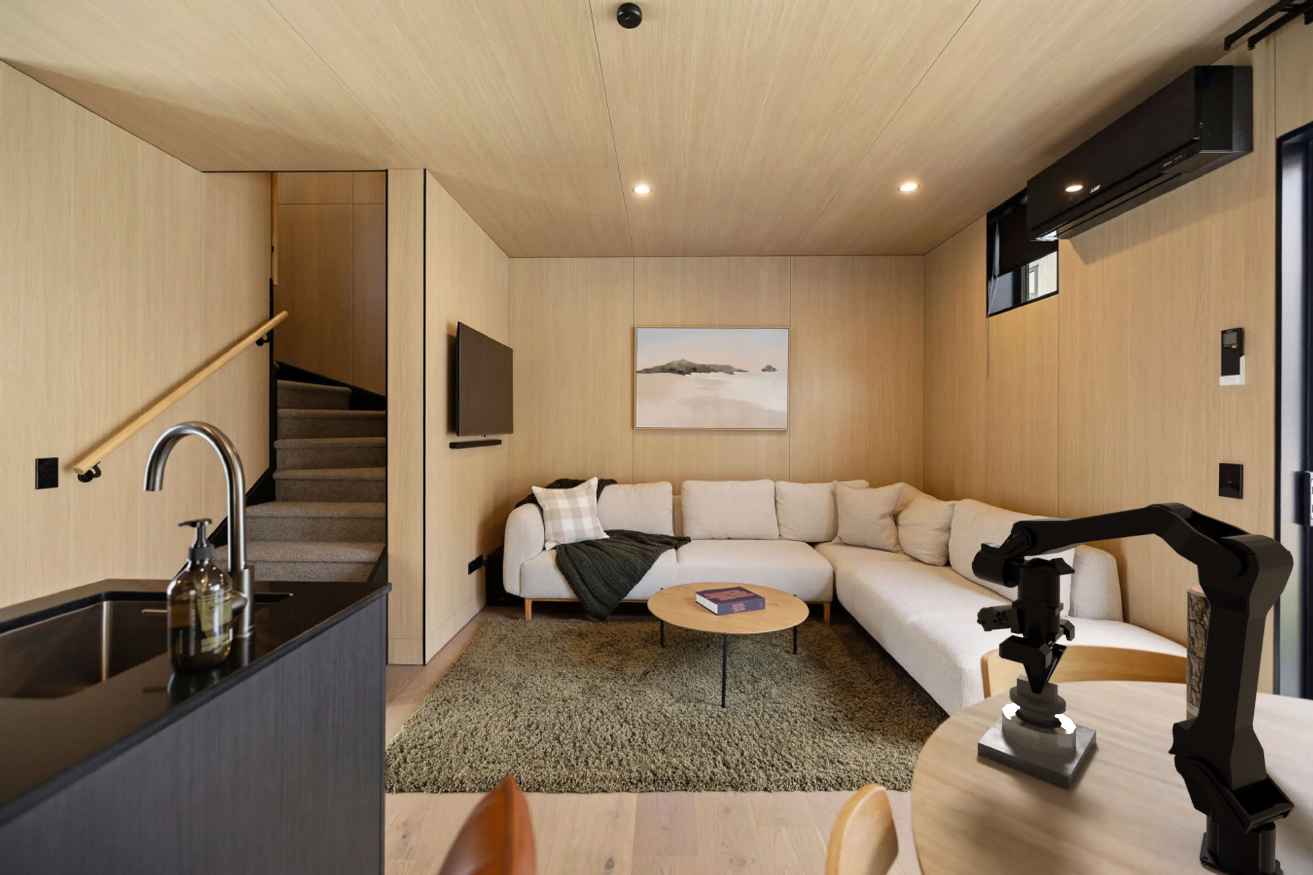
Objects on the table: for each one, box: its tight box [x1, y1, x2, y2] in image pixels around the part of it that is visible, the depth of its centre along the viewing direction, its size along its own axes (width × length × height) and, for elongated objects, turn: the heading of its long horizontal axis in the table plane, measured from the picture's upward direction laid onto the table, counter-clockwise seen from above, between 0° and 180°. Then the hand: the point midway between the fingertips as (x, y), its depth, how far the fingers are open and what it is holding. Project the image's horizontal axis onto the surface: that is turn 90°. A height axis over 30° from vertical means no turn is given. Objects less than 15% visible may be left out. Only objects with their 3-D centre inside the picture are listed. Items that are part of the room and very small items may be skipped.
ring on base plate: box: [977, 702, 1097, 791], centre depth 90 cm, size 18×12×5 cm, turn 131°
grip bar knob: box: [1009, 674, 1067, 727], centre depth 90 cm, size 8×8×6 cm
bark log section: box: [1185, 584, 1210, 720], centre depth 91 cm, size 7×7×25 cm
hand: (1038, 690), depth 90 cm, fingers closed on grip bar knob
